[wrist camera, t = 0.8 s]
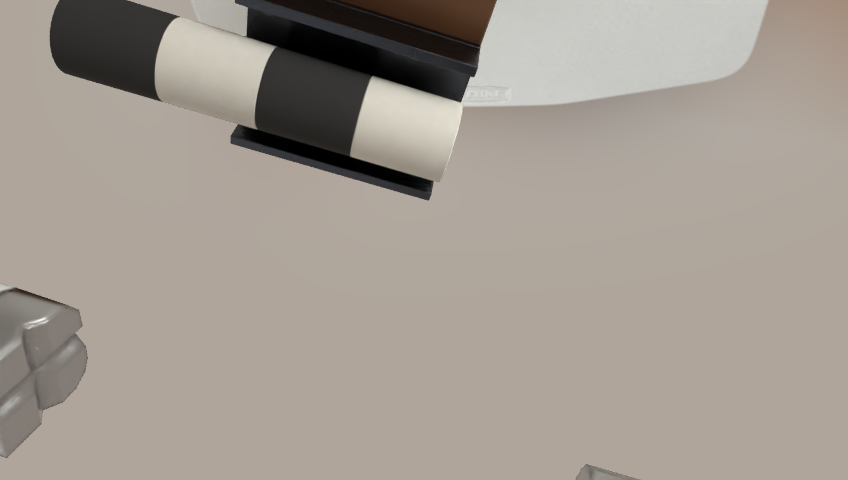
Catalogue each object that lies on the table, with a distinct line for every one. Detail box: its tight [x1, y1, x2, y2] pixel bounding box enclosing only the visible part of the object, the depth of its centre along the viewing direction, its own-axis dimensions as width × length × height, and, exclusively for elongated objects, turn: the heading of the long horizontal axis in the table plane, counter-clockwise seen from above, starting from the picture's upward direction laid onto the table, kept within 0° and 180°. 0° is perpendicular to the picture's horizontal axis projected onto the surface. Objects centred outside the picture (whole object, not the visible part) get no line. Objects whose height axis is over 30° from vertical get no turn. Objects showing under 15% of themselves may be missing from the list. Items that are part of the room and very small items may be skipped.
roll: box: [50, 0, 463, 182], centre depth 31 cm, size 20×4×4 cm, turn 75°
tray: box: [231, 0, 481, 200], centre depth 32 cm, size 9×12×2 cm
